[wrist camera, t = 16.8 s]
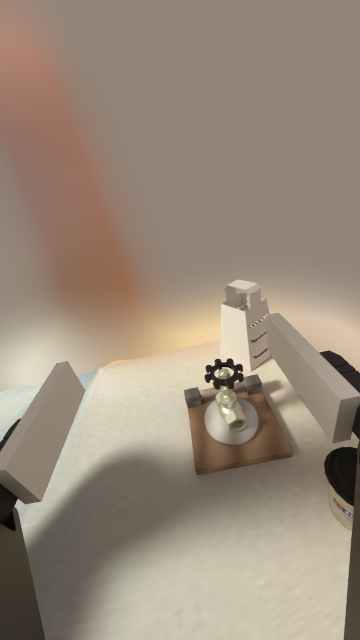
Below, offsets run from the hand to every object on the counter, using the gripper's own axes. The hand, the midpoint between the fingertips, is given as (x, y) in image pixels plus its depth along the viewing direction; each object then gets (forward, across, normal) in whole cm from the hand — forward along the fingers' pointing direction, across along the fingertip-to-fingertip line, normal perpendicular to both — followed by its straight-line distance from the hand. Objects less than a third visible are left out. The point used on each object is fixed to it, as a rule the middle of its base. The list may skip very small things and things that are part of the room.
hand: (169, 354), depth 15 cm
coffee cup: (0, +17, -32) cm, 36 cm away
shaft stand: (+16, +5, -32) cm, 36 cm away
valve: (+16, +5, -30) cm, 34 cm away
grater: (+36, +15, -32) cm, 50 cm away
